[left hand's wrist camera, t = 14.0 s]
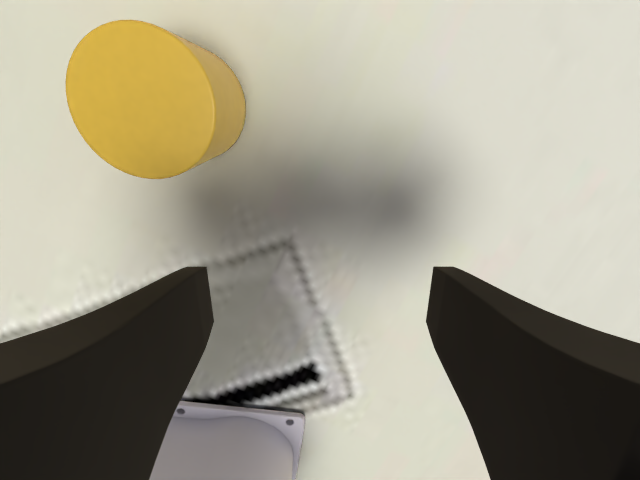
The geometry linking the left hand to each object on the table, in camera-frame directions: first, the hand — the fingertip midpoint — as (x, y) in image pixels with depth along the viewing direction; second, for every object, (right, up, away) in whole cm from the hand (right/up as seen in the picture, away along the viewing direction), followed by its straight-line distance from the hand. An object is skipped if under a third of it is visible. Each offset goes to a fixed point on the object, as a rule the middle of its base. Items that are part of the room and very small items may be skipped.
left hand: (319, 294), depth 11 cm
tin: (-6, +8, +5) cm, 11 cm away
